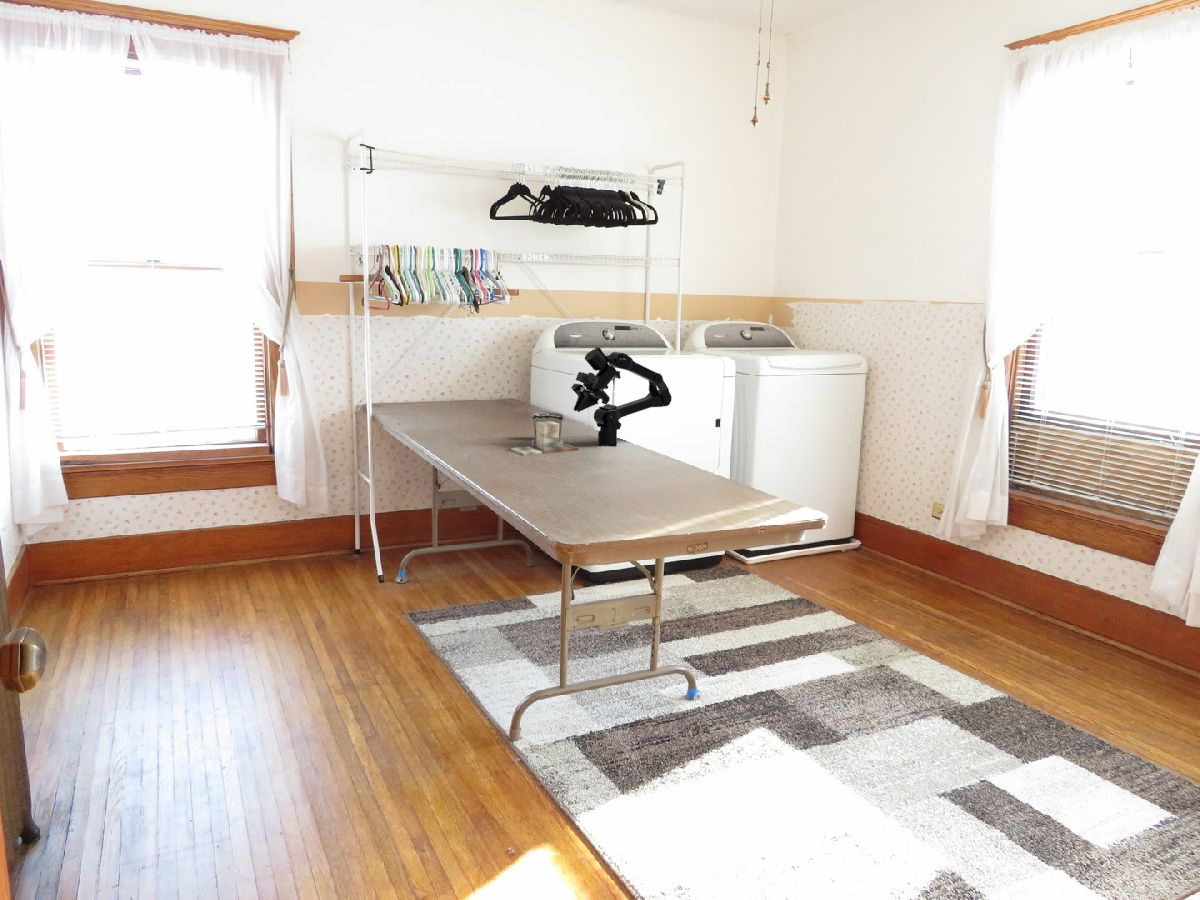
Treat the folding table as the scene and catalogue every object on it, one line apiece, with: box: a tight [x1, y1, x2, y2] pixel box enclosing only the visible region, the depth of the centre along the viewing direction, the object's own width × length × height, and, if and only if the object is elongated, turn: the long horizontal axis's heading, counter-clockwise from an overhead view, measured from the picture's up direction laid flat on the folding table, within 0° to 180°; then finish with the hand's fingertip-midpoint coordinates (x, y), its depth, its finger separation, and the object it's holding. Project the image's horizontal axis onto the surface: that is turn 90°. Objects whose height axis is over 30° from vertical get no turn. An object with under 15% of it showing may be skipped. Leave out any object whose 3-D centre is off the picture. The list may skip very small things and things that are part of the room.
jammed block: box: [536, 421, 560, 449], centre depth 310 cm, size 6×6×9 cm
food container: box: [531, 411, 565, 442], centre depth 331 cm, size 12×6×10 cm, turn 84°
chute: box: [510, 438, 579, 456], centre depth 310 cm, size 22×10×3 cm, turn 123°
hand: (575, 410), depth 314 cm, fingers closed
